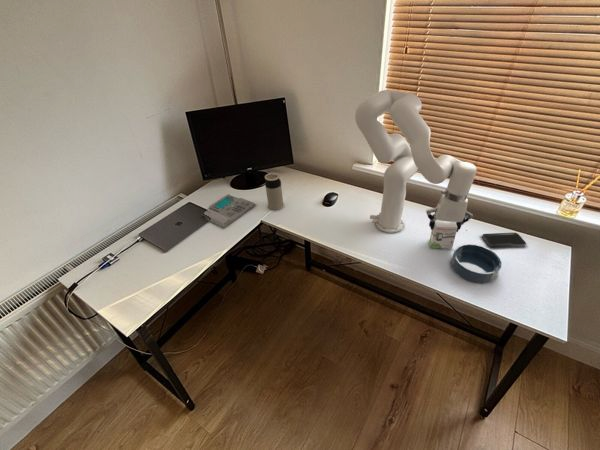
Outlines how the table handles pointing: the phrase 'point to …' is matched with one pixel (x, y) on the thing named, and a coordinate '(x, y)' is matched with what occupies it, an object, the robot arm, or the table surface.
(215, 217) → the office telephone
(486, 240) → the phone
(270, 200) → the travel mug
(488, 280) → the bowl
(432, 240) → the ink box
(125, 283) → the table surface
